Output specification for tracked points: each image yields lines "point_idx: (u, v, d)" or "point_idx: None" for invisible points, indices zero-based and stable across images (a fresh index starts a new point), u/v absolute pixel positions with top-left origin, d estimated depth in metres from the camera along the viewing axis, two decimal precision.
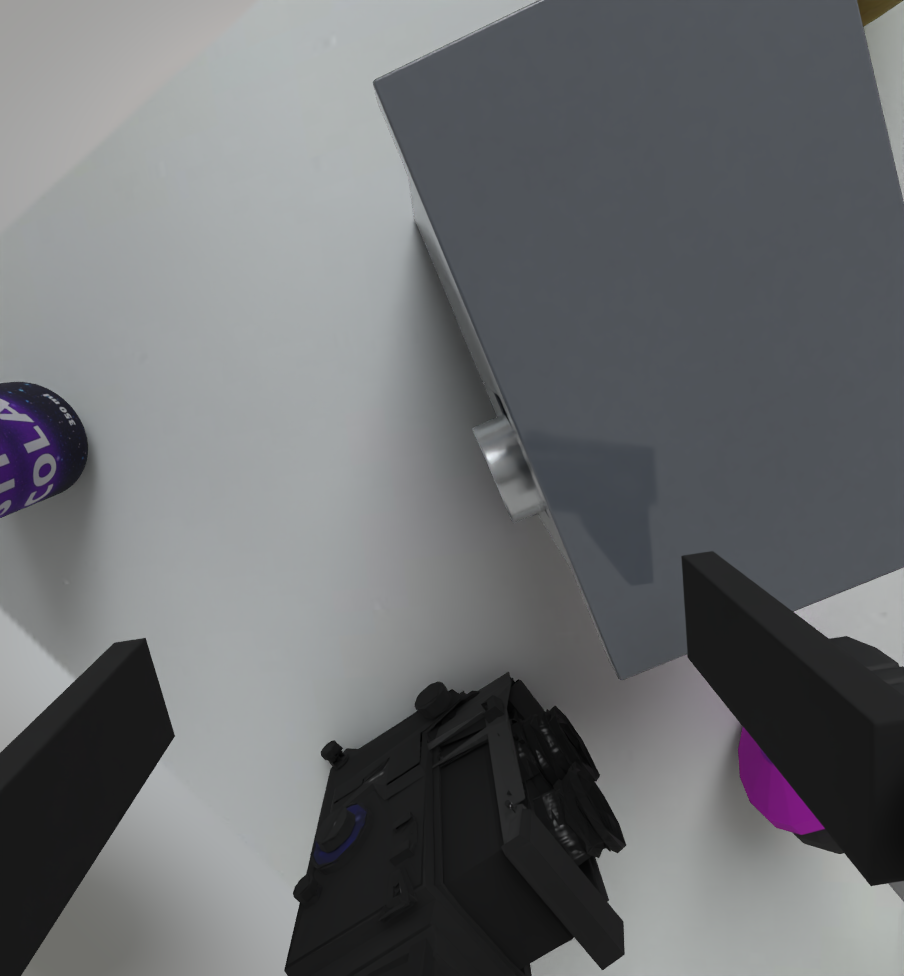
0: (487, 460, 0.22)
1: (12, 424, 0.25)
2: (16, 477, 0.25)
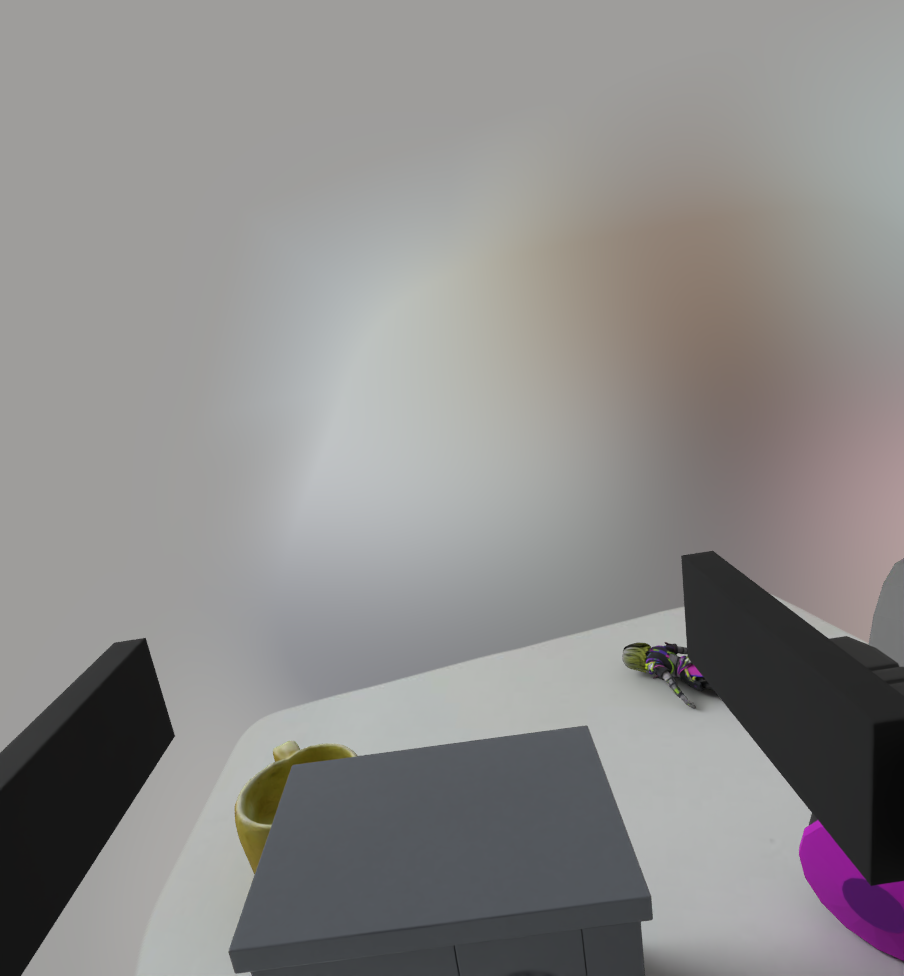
0: None
1: None
2: None
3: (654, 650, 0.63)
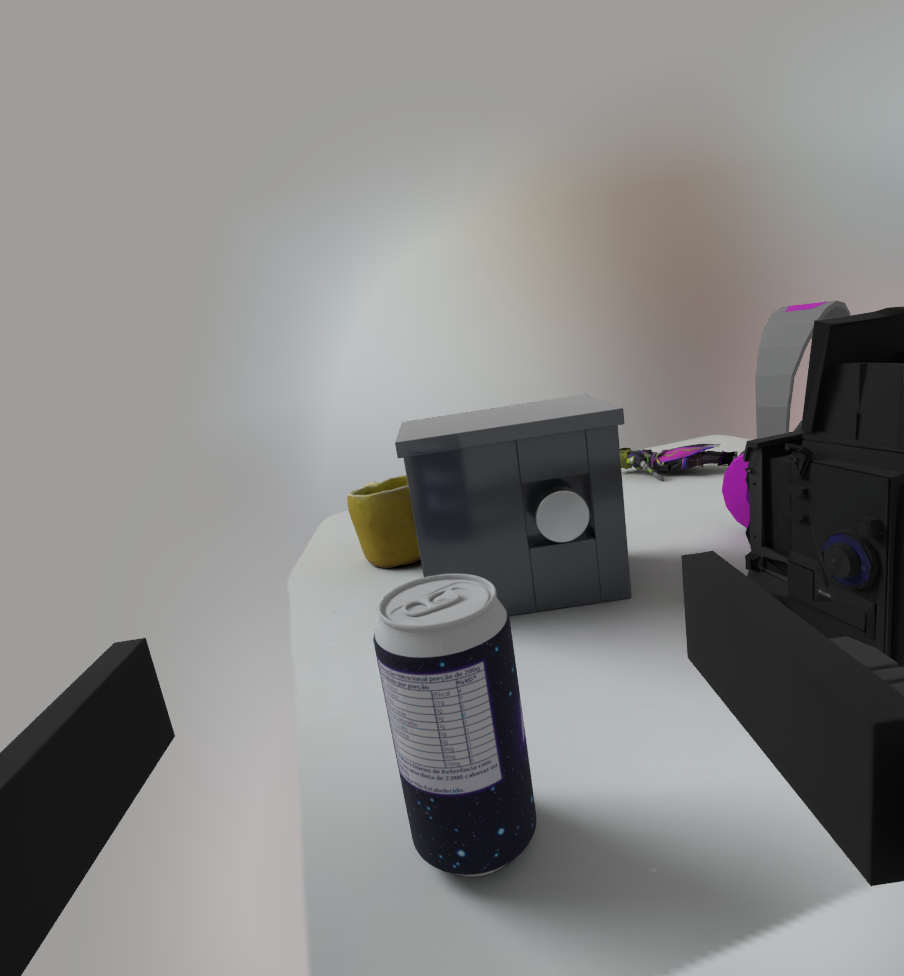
0: (546, 496, 0.45)
1: None
2: None
3: (634, 451, 0.84)
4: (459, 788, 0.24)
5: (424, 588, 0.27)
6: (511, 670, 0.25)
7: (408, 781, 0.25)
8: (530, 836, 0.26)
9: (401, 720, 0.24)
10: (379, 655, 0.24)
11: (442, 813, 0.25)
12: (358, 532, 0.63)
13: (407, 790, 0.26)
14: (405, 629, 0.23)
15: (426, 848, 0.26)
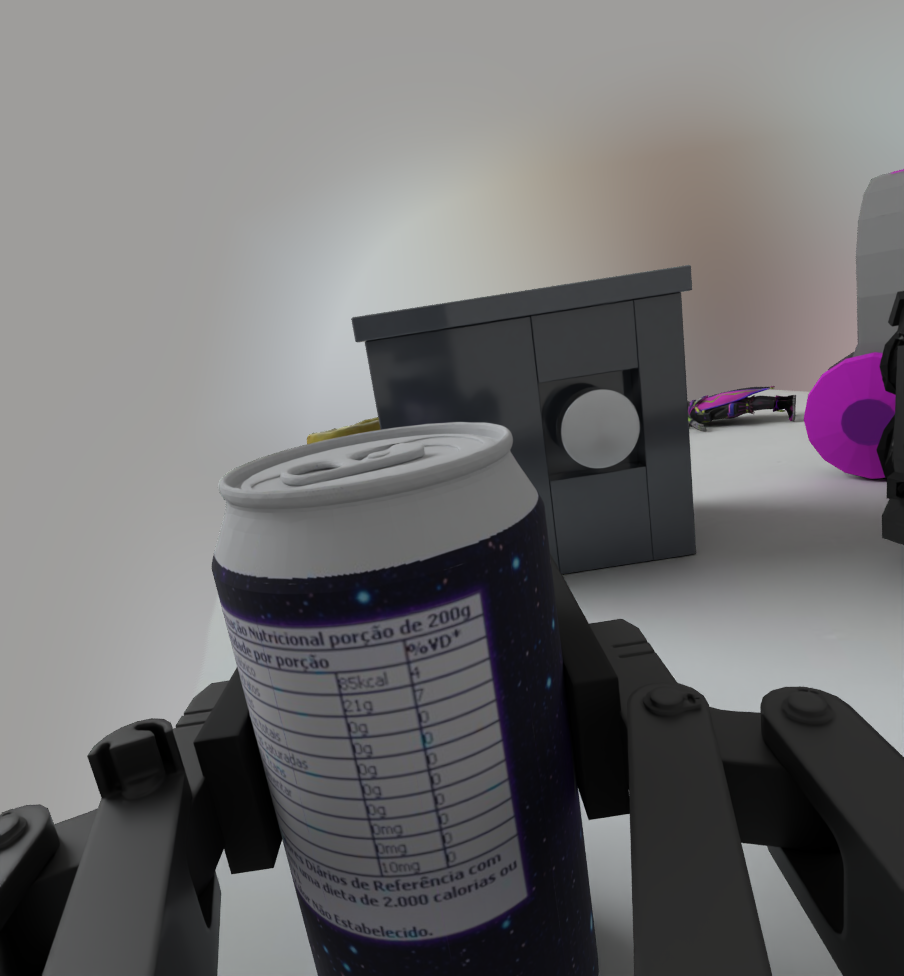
0: (577, 398, 0.30)
1: None
2: None
3: None
4: (421, 927, 0.09)
5: (349, 449, 0.12)
6: (551, 625, 0.10)
7: (302, 894, 0.10)
8: None
9: (272, 750, 0.09)
10: (216, 585, 0.10)
11: None
12: None
13: (303, 912, 0.11)
14: (266, 504, 0.08)
15: None
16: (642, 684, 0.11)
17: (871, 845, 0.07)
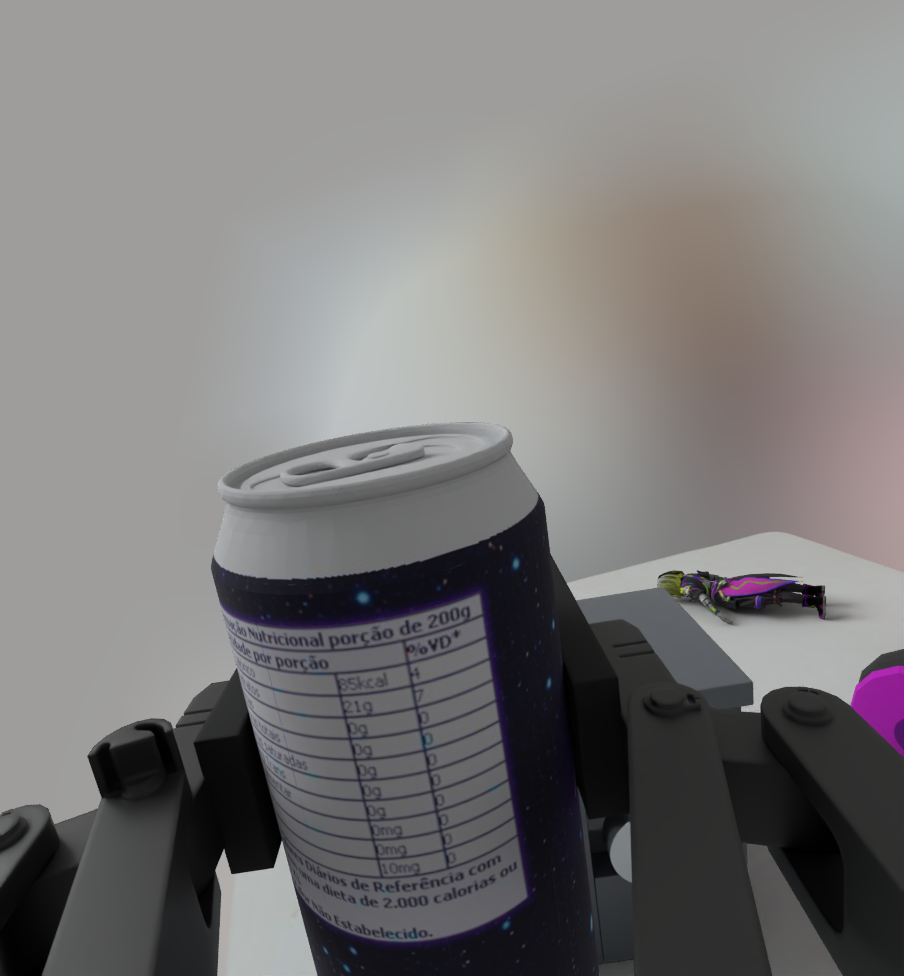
0: (628, 822, 0.28)
1: None
2: None
3: (688, 576, 0.66)
4: (420, 928, 0.09)
5: (349, 450, 0.12)
6: (551, 626, 0.10)
7: (301, 895, 0.10)
8: None
9: (271, 751, 0.09)
10: (216, 586, 0.10)
11: None
12: None
13: (303, 913, 0.11)
14: (265, 504, 0.08)
15: None
16: (642, 684, 0.11)
17: (872, 845, 0.07)
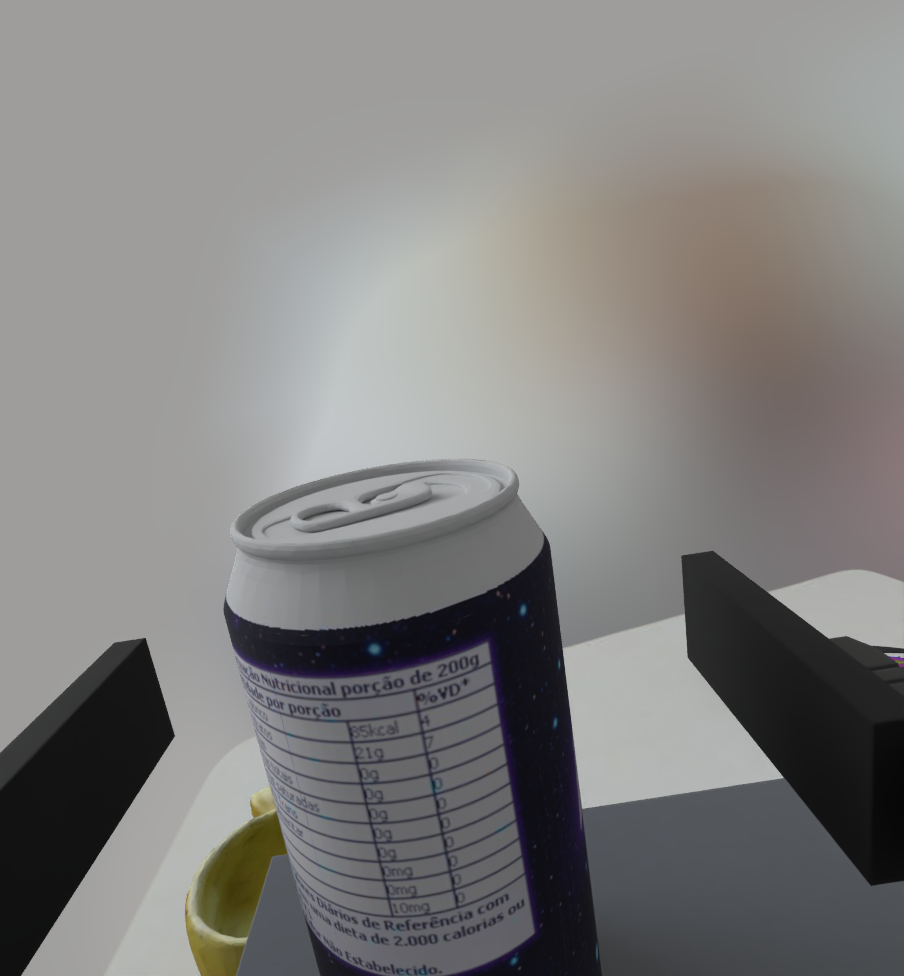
0: None
1: None
2: None
3: None
4: (430, 966, 0.09)
5: (357, 487, 0.12)
6: (557, 666, 0.10)
7: (313, 929, 0.11)
8: None
9: (283, 791, 0.10)
10: (228, 629, 0.10)
11: None
12: None
13: (313, 946, 0.11)
14: (278, 555, 0.09)
15: None
16: None
17: None
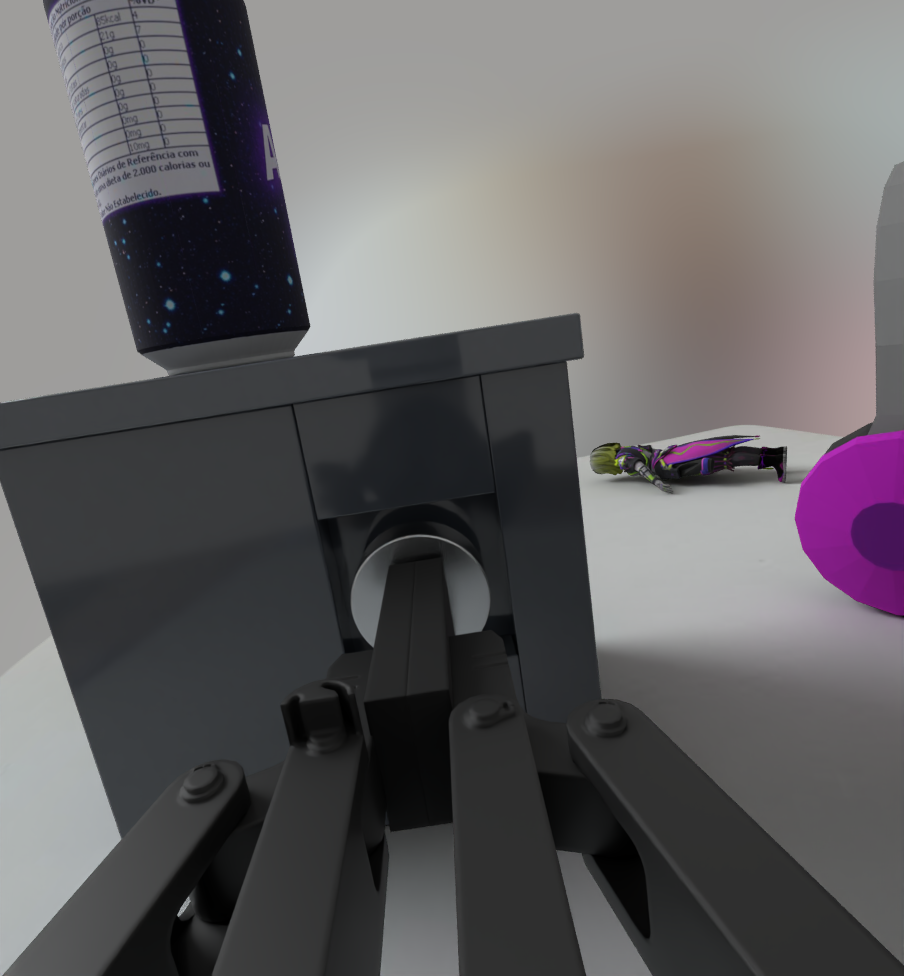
0: (374, 550, 0.17)
1: None
2: None
3: (625, 447, 0.55)
4: (154, 189, 0.17)
5: None
6: (236, 50, 0.18)
7: (103, 217, 0.18)
8: (284, 322, 0.20)
9: (76, 100, 0.17)
10: None
11: (138, 239, 0.18)
12: None
13: (108, 242, 0.19)
14: None
15: (136, 322, 0.19)
16: None
17: (665, 851, 0.07)
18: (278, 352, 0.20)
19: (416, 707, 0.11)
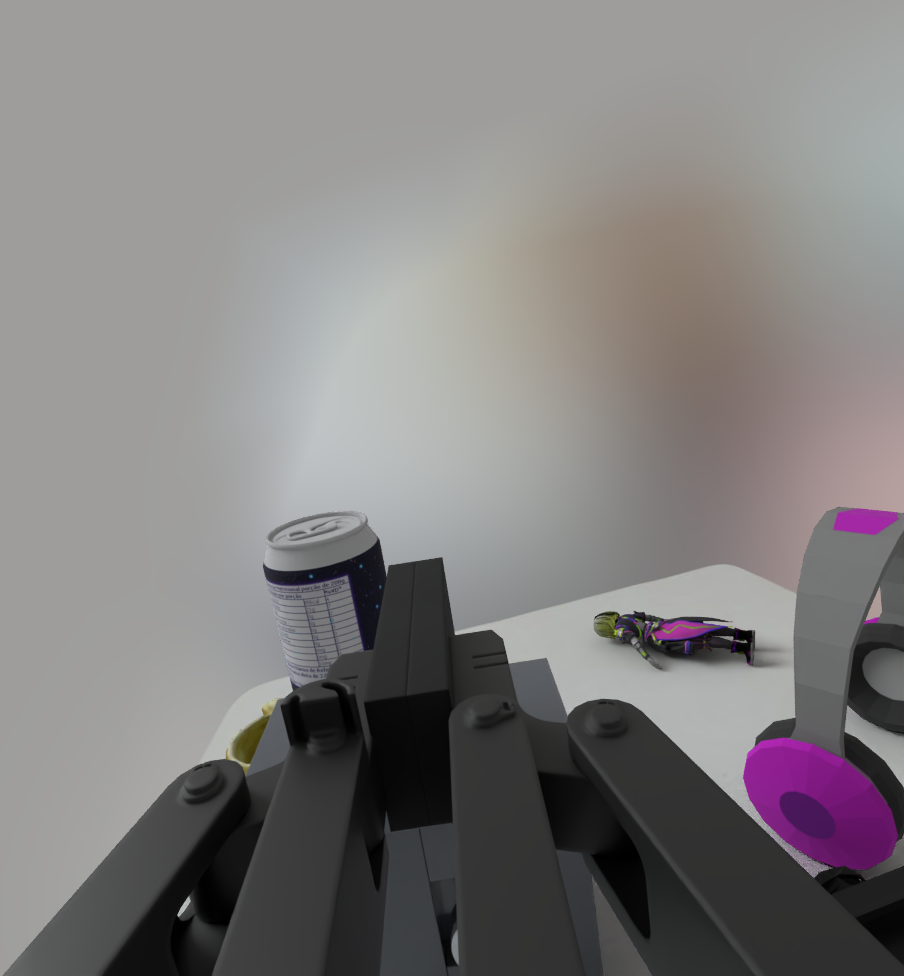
0: None
1: None
2: None
3: (623, 617, 0.66)
4: None
5: (312, 522, 0.31)
6: (379, 587, 0.29)
7: (294, 682, 0.30)
8: None
9: (283, 627, 0.29)
10: (265, 573, 0.29)
11: None
12: None
13: None
14: (282, 548, 0.28)
15: None
16: None
17: (665, 851, 0.07)
18: None
19: (416, 707, 0.11)
